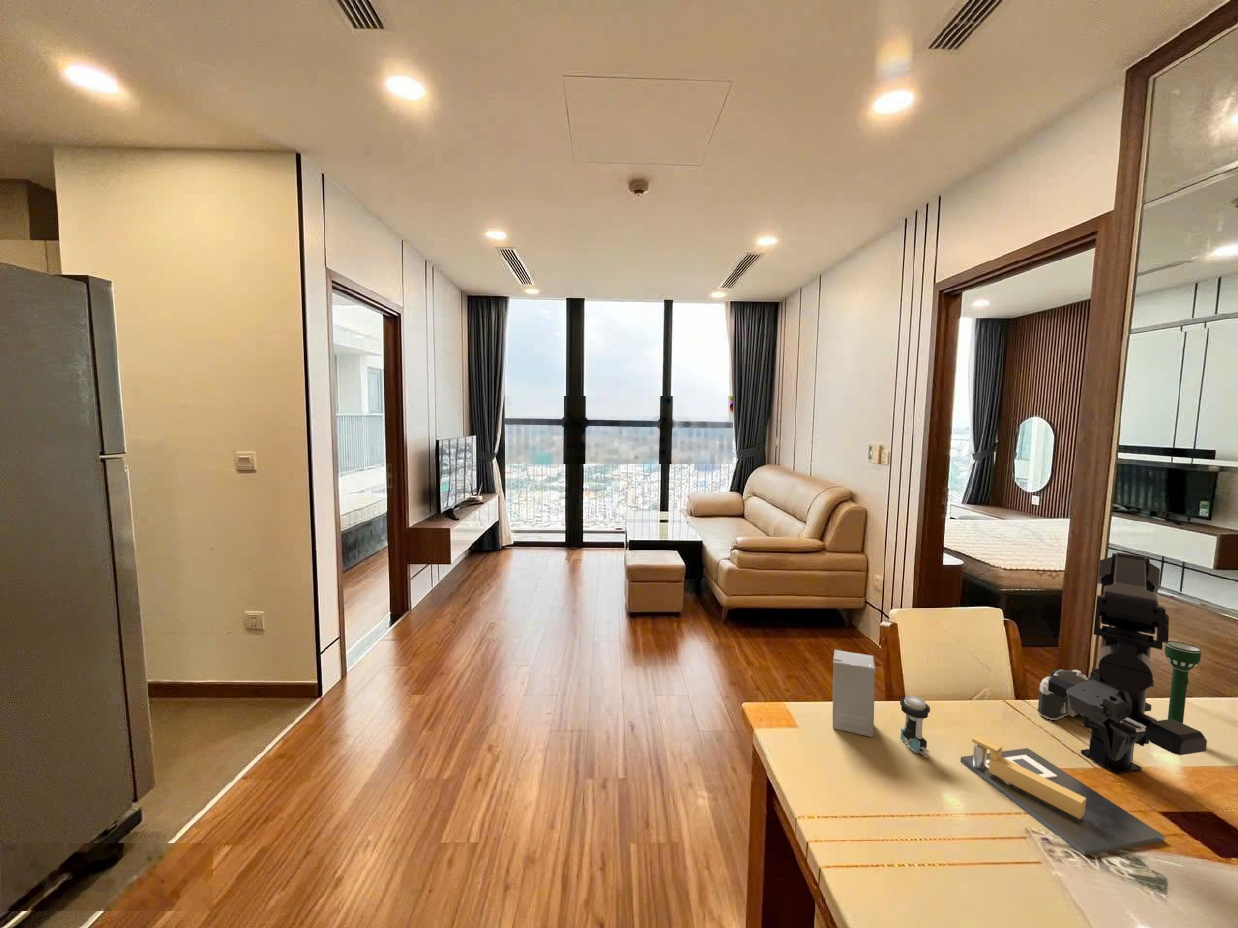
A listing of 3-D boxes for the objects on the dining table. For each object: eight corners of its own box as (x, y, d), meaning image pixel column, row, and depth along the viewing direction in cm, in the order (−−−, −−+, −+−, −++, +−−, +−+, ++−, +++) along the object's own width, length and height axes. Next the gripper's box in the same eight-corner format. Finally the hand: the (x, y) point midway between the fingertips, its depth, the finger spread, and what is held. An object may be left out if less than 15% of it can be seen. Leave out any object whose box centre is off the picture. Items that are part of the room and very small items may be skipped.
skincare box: (872, 722, 110) (876, 654, 109) (873, 741, 104) (877, 668, 103) (831, 712, 114) (834, 646, 113) (829, 730, 107) (833, 659, 106)
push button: (939, 758, 99) (942, 710, 98) (915, 760, 98) (918, 712, 97) (914, 737, 105) (917, 692, 104) (891, 739, 104) (894, 694, 104)
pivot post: (978, 767, 96) (980, 741, 96) (987, 774, 94) (989, 747, 94) (969, 768, 96) (971, 742, 95) (978, 775, 94) (980, 748, 93)
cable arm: (970, 762, 95) (972, 738, 95) (975, 758, 96) (977, 734, 96) (1079, 818, 82) (1082, 791, 81) (1084, 813, 83) (1087, 786, 82)
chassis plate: (1027, 752, 101) (1027, 747, 101) (1164, 841, 79) (1164, 835, 79) (960, 761, 98) (961, 756, 98) (1084, 856, 76) (1084, 850, 76)
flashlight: (1191, 745, 104) (1201, 653, 102) (1155, 733, 108) (1164, 644, 106) (1192, 736, 107) (1202, 646, 106) (1157, 724, 111) (1166, 638, 109)
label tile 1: (1025, 755, 98) (1025, 754, 98) (1057, 777, 92) (1057, 775, 92) (1004, 758, 97) (1004, 756, 97) (1035, 780, 91) (1035, 778, 91)
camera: (1076, 733, 108) (1080, 689, 107) (1030, 712, 115) (1033, 671, 115) (1111, 716, 114) (1115, 674, 114) (1065, 697, 122) (1068, 658, 121)
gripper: (1026, 647, 89) (1019, 729, 90) (1156, 704, 71) (1145, 807, 72) (1075, 642, 91) (1068, 723, 92) (1214, 697, 73) (1203, 797, 74)
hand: (1114, 758), depth 82 cm, fingers closed
